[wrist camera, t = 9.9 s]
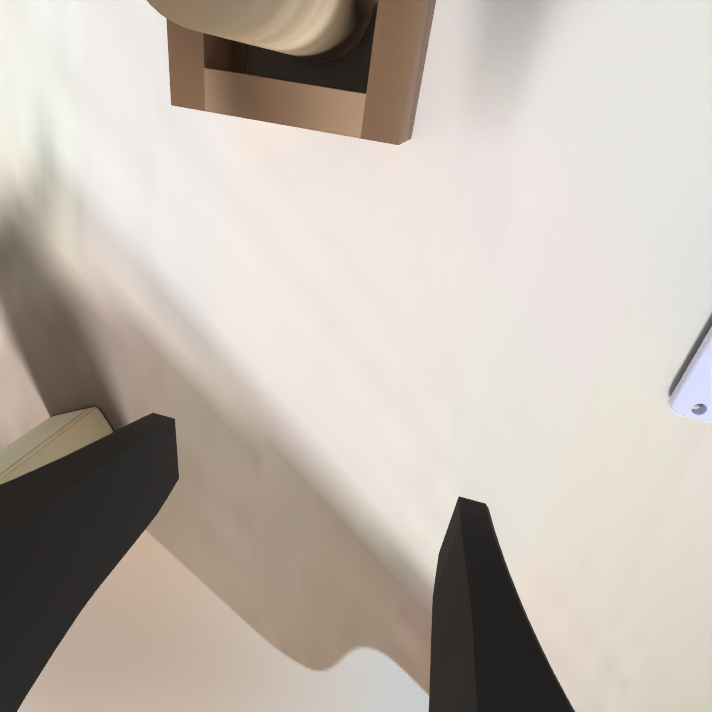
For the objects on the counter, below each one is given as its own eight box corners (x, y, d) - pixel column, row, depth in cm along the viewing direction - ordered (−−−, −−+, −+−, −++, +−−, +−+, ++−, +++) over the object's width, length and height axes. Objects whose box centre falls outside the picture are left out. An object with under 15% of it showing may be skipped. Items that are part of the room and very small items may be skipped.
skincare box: (151, 483, 29) (-30, 692, 19) (100, 491, 31) (-92, 687, 21) (95, 401, 27) (-146, 587, 17) (44, 414, 29) (-206, 591, 18)
